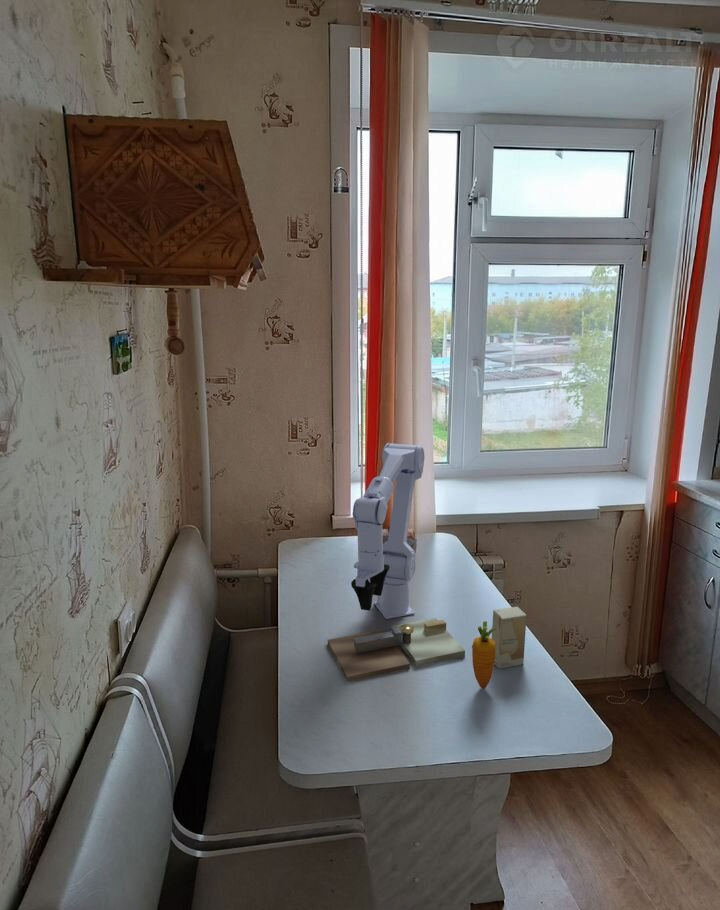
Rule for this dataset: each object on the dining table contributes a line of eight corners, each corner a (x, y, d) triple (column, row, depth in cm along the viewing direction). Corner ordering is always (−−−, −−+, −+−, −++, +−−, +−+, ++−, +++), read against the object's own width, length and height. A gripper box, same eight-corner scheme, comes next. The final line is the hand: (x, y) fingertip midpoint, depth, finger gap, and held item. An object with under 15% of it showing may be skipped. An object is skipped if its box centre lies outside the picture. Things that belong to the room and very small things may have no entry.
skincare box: (499, 669, 138) (500, 619, 135) (489, 658, 142) (491, 609, 139) (525, 664, 139) (527, 614, 136) (515, 654, 143) (517, 605, 140)
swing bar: (410, 635, 148) (410, 623, 147) (415, 642, 145) (415, 629, 144) (353, 646, 144) (353, 633, 143) (357, 654, 141) (357, 640, 140)
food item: (413, 549, 204) (413, 520, 202) (417, 559, 197) (417, 529, 194) (372, 551, 203) (371, 522, 201) (374, 561, 196) (373, 531, 193)
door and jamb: (327, 644, 149) (327, 629, 148) (435, 623, 157) (435, 609, 156) (347, 681, 134) (346, 665, 133) (464, 656, 143) (465, 641, 142)
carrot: (478, 678, 134) (479, 615, 131) (499, 687, 131) (501, 622, 128) (466, 689, 131) (467, 624, 127) (487, 698, 128) (489, 632, 124)
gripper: (365, 534, 152) (366, 586, 155) (342, 558, 139) (344, 613, 142) (392, 538, 150) (393, 590, 153) (372, 562, 136) (373, 618, 140)
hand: (371, 601), depth 147 cm, fingers open, 7 cm apart
